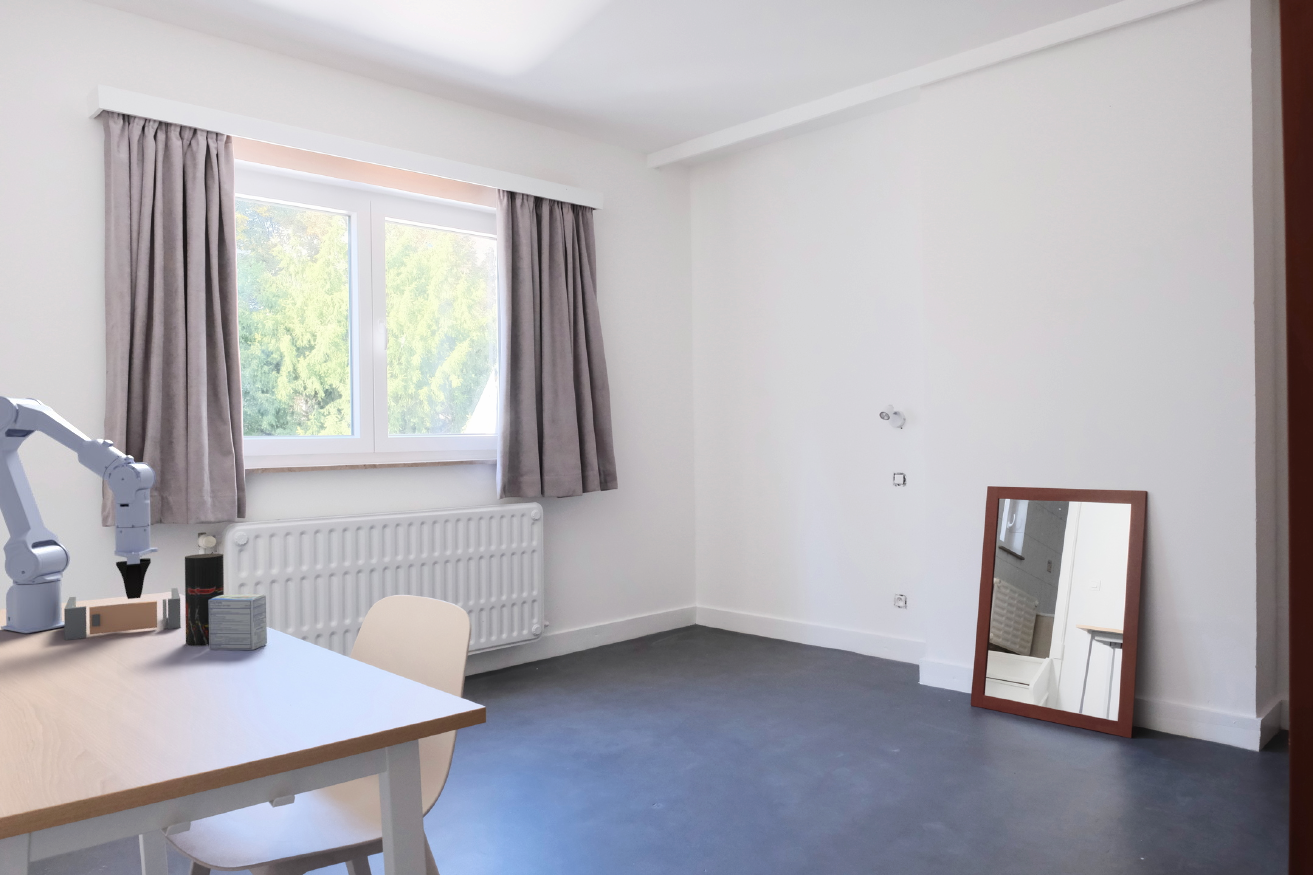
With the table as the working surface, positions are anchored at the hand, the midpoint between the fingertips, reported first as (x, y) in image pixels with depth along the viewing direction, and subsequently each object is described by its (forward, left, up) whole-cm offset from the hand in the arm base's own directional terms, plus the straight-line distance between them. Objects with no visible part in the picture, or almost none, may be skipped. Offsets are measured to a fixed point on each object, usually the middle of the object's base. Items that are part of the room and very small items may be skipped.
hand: (134, 597), depth 164 cm
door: (+5, -4, -5) cm, 8 cm away
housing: (-1, -1, -5) cm, 6 cm away
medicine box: (+34, -2, -6) cm, 34 cm away
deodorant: (+25, -2, -6) cm, 25 cm away
